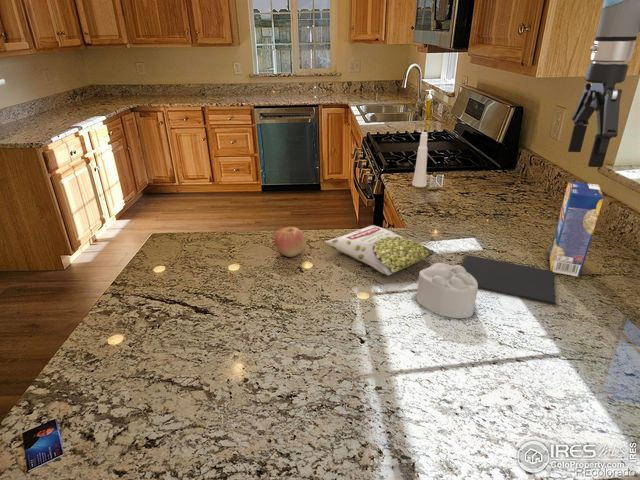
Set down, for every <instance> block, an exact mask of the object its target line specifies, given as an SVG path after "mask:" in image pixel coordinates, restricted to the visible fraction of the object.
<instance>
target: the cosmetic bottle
mask: <svg viewBox="0 0 640 480" xmlns="http://www.w3.org/2000/svg"><path fill="white" fill-rule="evenodd" d="M428 137H429V135H428V132H427V131H421V134H420V138H419V146H418V147H417V155H416V161H415V168H414V173H413V178H412V182H411V185H412V186H413V187H415V188H425V187H427V185H428V184H427V164H428Z"/></svg>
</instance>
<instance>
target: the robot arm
mask: <svg viewBox="0 0 640 480" xmlns="http://www.w3.org/2000/svg"><path fill="white" fill-rule="evenodd" d="M597 24H598V25H597V29H596V33H595V37H594V41H593V45H592V46H590V49H589V50H590V51H591V53H590V54H591V55H590V59H589V60H590V61H591V63H589V64H588V65H587V69H586V74H585V77H584V80H585V81H586V82H587V83H584V87H583V91H582V94H581V96H580V98H579V101H578V103H577V105H576V107H575V109H574V112H573V113H572V116H571V121H573V128H572V132H571V137H570V140H569V145H568V148H567V152H568V153H581V151H582V147H583V143H584V139H585V136H586V132H587V129H588V126H589V122H590V121H589V120H590V119H591V117H592V115H593V114H594V112H596V122H597V123H596V124H597V133H596V134H595V135H594V141H593V144H592V148H591V152H590V156H589V160H588V163H587V167H589V168H603V166H604V162H605V159H606V156H607V152H608V148H609V144H610V142H611V139H612V138H617V137H618V135H619V134H618V133H619V120H620V119H619V118H620V103H621V97H622V93H623V89H620V88H619V89H616V85H617V84H622V83H624V82H625V81H626V77H627V73H628V70H629V68H630V67H629V64H628V62H630V61H631V60H632V57H633V55H634V49H635V47H636V43H637V39H638V35H639V33H640V0H603V2H602V5H601V11H600V16H599V20H598V23H597Z"/></svg>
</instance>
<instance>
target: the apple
mask: <svg viewBox="0 0 640 480" xmlns="http://www.w3.org/2000/svg"><path fill="white" fill-rule="evenodd" d="M273 244H274V246H275V248H276V250H277V251H278V252H279V254H281V255H283V256H285V257H288V258H292V257H296V256H298V255H299V254H301V253H302V252H303V250H304V248H305V244H306V238H305V235H304V233H303V231H302V230H301V229H300V228H298V227H295V226H288V227H282V228H280V229H279V230H277V231H276V233H275V234H274V238H273Z"/></svg>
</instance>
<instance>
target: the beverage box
mask: <svg viewBox="0 0 640 480" xmlns="http://www.w3.org/2000/svg"><path fill="white" fill-rule="evenodd" d="M563 197H564V198H563V200H562V204H561V208H560V213H559V215H558V220H557V224H556V226H555V227H556V228H555V232H554V236H553V239H552V243H551V247H550V250H549V267H550V269H549V270H550V271H553V273H557V274H563V275H568V276H573V277H578V278H580V276H581V274H582V272H583V271H582V270H583V267H584V265H585V261H586V257H587V255H588V251H589V247H590V244H591V241H592V237H593V235H594V231H595V227H596V224H597V221H598V218H599V215H600V212H601V207H602V205H603V202H604V194H603V192H602V190H601V187H600V185H599V184H598V183H588V182H580V181H579V182H578V181H570V180H568V182H567V186H566V189H565V193H564V196H563Z"/></svg>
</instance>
